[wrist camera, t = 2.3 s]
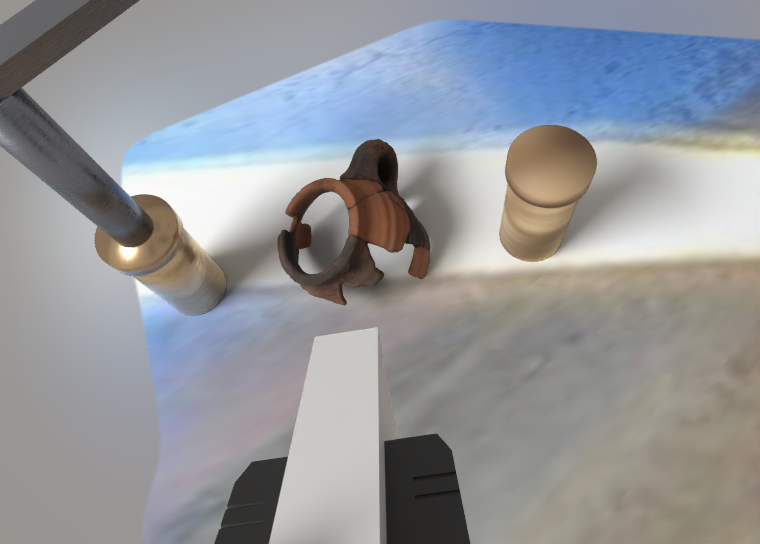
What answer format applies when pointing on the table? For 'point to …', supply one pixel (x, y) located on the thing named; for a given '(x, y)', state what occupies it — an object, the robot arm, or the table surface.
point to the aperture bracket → (82, 174)
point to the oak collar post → (543, 189)
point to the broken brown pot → (357, 224)
